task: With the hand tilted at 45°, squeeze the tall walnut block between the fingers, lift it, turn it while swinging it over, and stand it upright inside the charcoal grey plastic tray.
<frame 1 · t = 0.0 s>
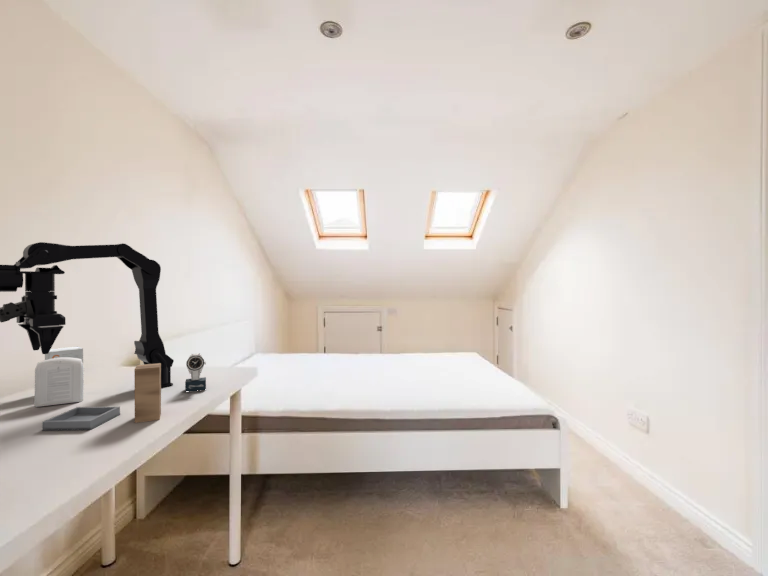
hand: (40, 352, 100), 15 cm above the table, tool pointing down, fingers open, 9 cm apart
watch: (196, 390, 118), on the table
small box: (64, 392, 116), on the table
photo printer: (60, 404, 105), on the table
tray: (83, 422, 90), on the table
walnut block: (148, 418, 93), on the table
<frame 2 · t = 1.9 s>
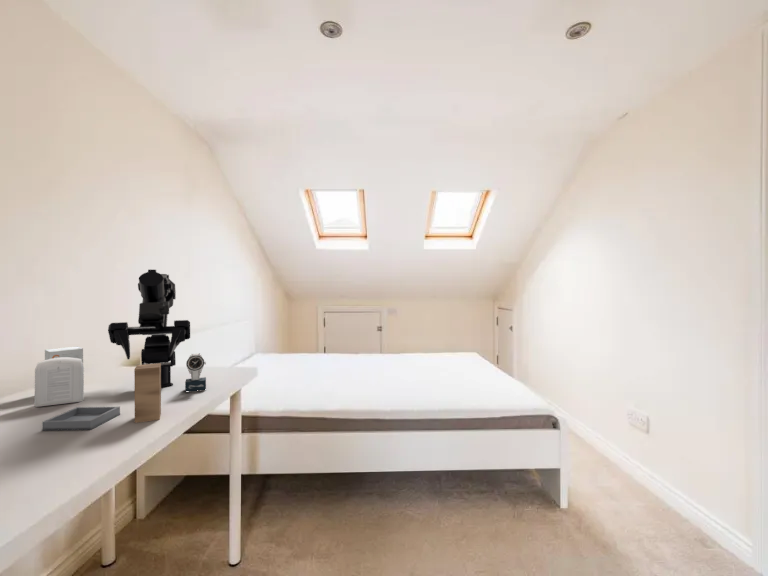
hand: (149, 356, 100), 13 cm above the table, tool tilted 45°, fingers open, 9 cm apart
nothing on the table moved.
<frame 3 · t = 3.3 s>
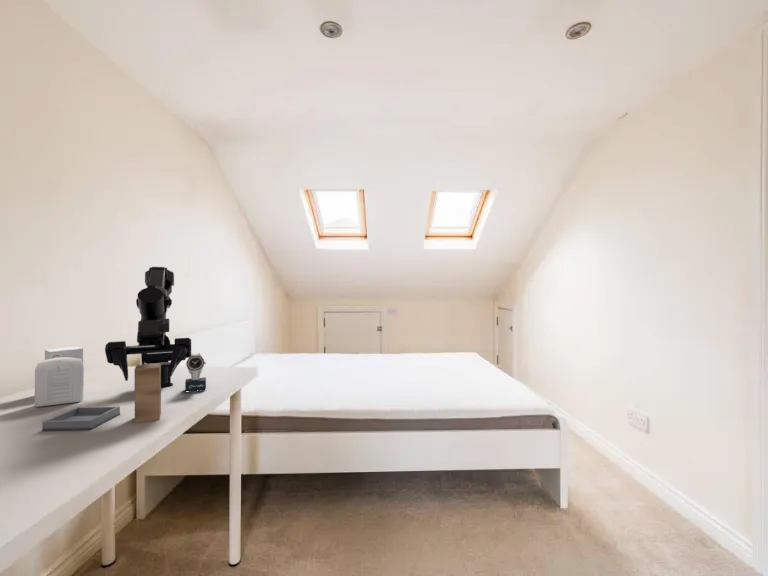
hand: (148, 377, 94), 9 cm above the table, tool tilted 45°, fingers open, 9 cm apart
nothing on the table moved.
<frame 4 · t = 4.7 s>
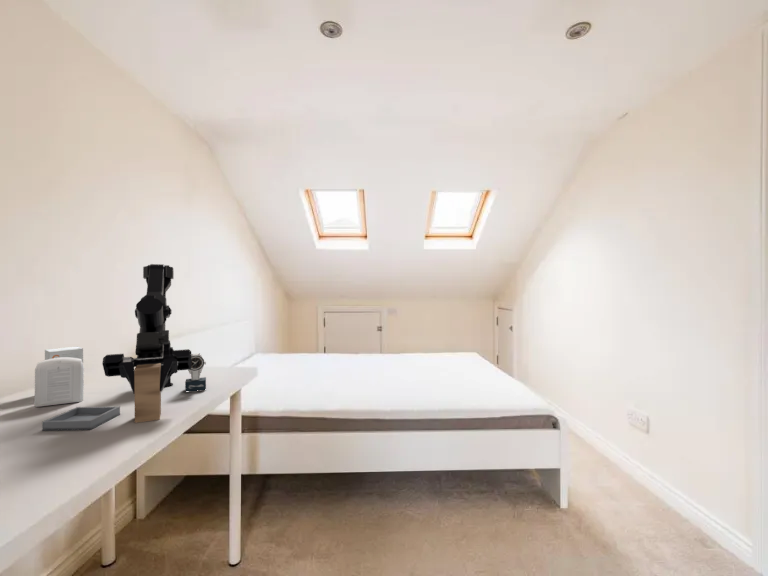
hand: (147, 391, 92), 7 cm above the table, tool tilted 45°, fingers closed on walnut block, 5 cm apart
walnut block: (148, 417, 93), on the table, touching gripper
everything else where it was.
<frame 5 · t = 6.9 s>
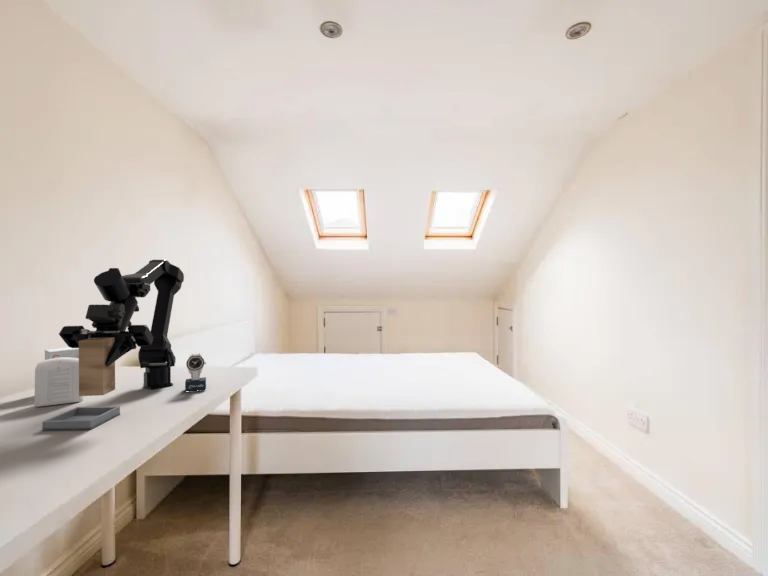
hand: (93, 365, 89), 13 cm above the table, tool tilted 45°, fingers closed on walnut block, 5 cm apart
walnut block: (97, 392, 90), point 7 cm above the table, touching gripper
everything else where it was.
when the fingers open (8 cm above the table, at t = 8.9 s): walnut block stays where it is, resting on tray.
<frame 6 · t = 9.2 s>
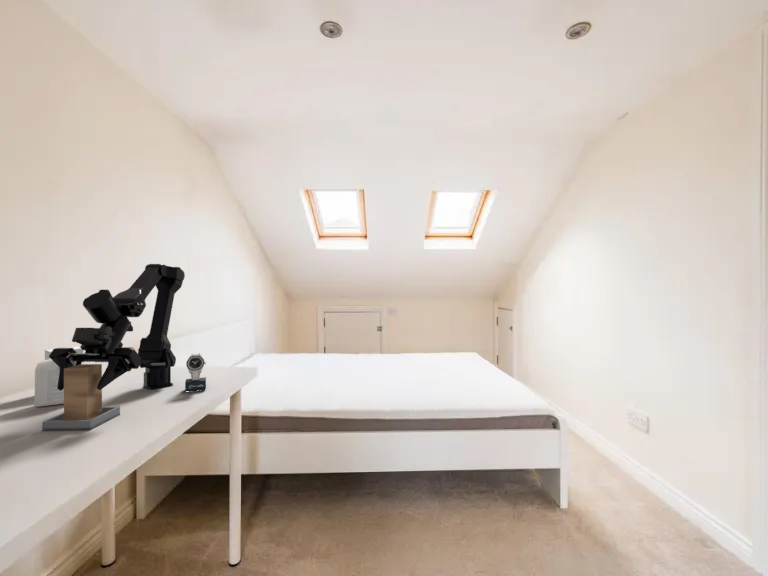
hand: (78, 389, 89), 8 cm above the table, tool tilted 45°, fingers open, 8 cm apart
walnut block: (83, 420, 90), resting on tray
everything else where it was.
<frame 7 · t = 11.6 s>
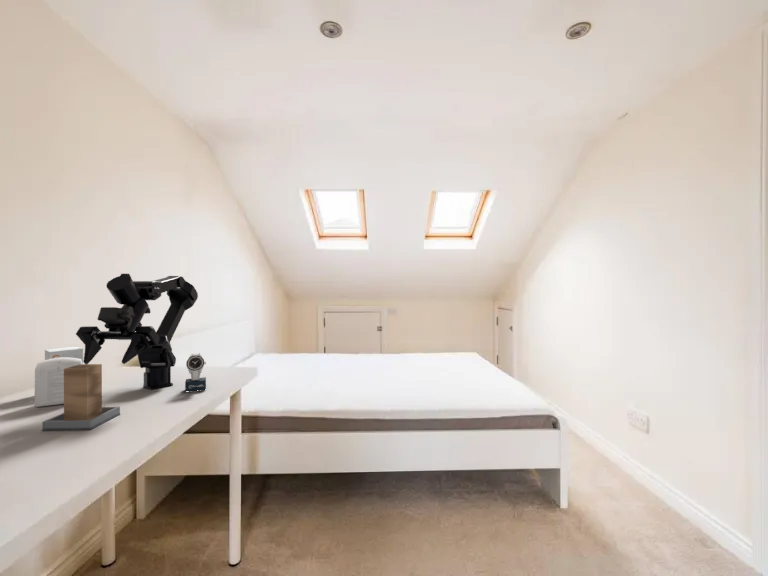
hand: (104, 363, 97), 12 cm above the table, tool tilted 45°, fingers open, 9 cm apart
nothing on the table moved.
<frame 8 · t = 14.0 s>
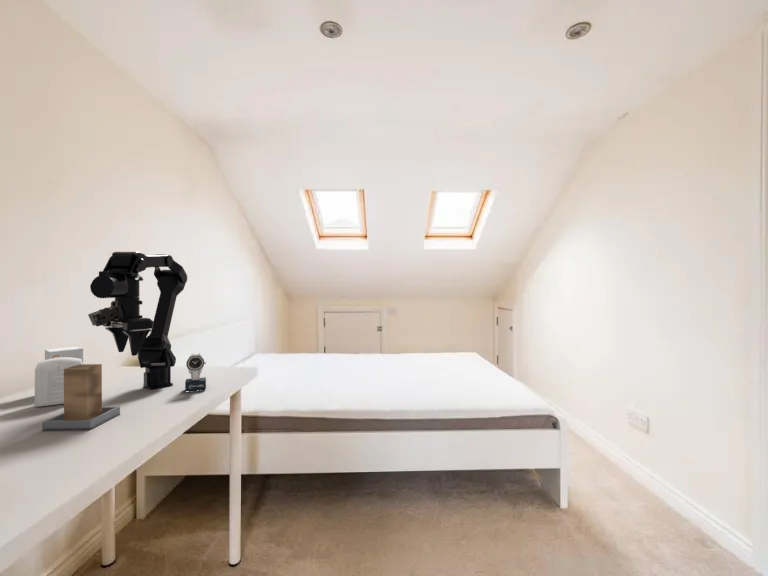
hand: (127, 353, 107), 13 cm above the table, tool pointing down, fingers open, 9 cm apart
nothing on the table moved.
at the end: walnut block 0.0 cm off-centre on the tray, point 0.5 cm above the tray's base; walnut block tilted 0°; the gripper is holding nothing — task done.
